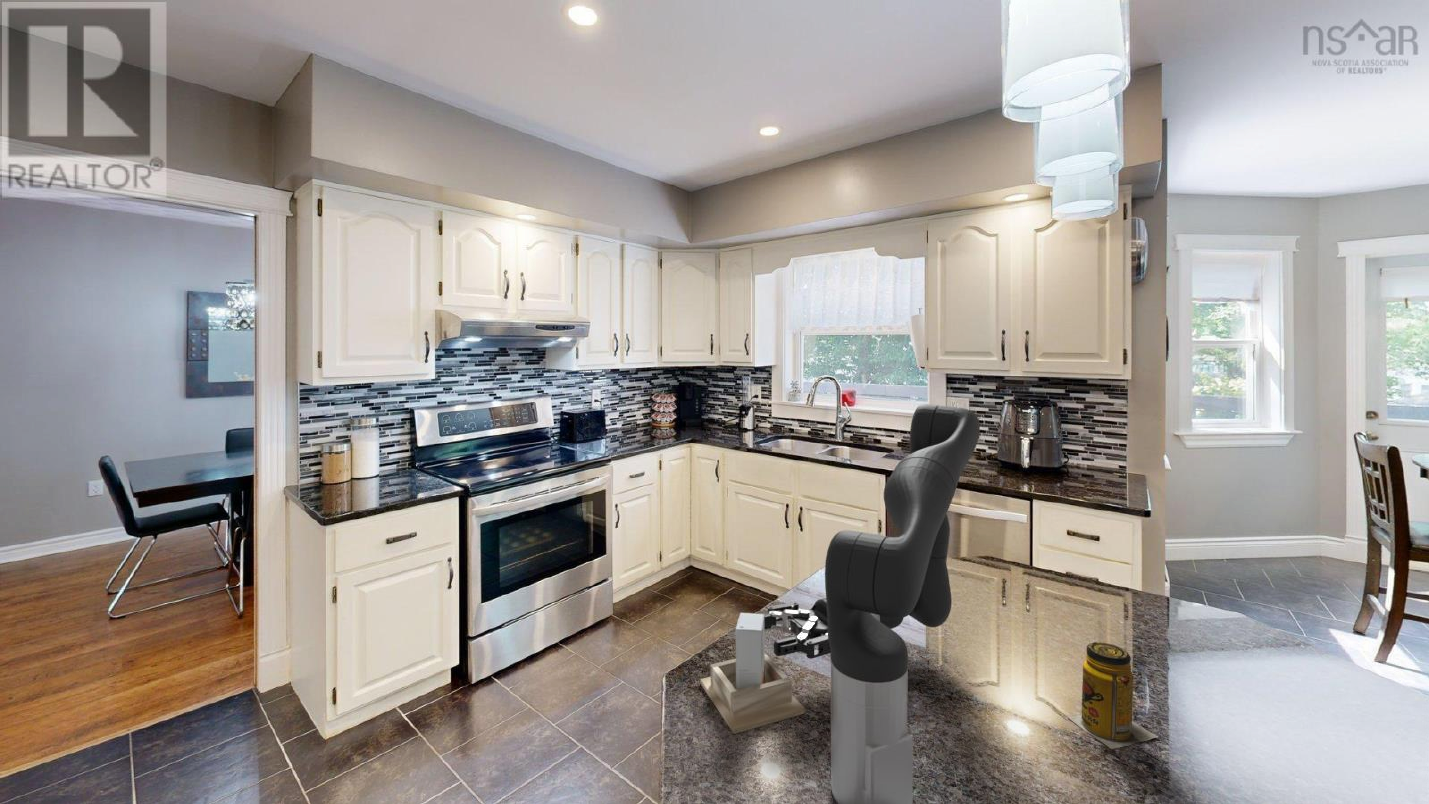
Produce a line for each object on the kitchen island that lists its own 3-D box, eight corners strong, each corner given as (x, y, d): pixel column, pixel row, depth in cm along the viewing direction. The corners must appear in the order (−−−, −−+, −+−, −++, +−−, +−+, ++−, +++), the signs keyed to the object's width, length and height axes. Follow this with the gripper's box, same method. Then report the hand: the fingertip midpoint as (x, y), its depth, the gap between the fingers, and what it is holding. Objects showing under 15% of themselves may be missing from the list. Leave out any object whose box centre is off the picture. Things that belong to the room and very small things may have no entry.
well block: (804, 713, 87) (804, 686, 87) (733, 734, 83) (733, 706, 82) (763, 667, 100) (763, 644, 100) (700, 683, 96) (699, 659, 95)
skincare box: (762, 704, 88) (761, 631, 87) (735, 702, 89) (734, 629, 88) (765, 682, 94) (764, 613, 93) (740, 680, 95) (739, 611, 94)
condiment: (1066, 718, 85) (1068, 641, 84) (1111, 708, 87) (1114, 633, 86) (1111, 750, 78) (1114, 667, 77) (1159, 739, 80) (1162, 658, 79)
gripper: (823, 581, 104) (743, 597, 98) (872, 613, 91) (783, 634, 85) (823, 620, 105) (744, 639, 99) (872, 658, 91) (784, 682, 85)
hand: (762, 636), depth 92 cm, fingers open, 8 cm apart
